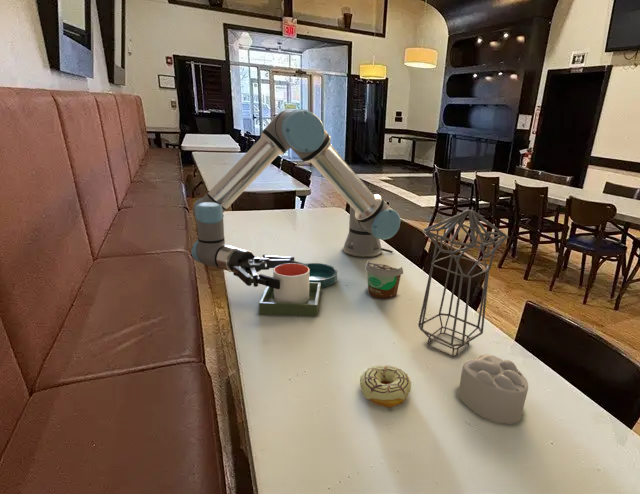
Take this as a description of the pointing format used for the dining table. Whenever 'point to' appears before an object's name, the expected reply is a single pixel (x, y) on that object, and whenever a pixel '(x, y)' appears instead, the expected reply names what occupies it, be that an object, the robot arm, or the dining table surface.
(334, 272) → the dish
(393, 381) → the decorated donut
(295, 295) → the cup
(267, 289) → the tray
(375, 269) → the food container
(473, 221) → the geometric lantern
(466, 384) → the lumpy-topped squat cylinder
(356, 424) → the dining table surface
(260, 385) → the dining table surface
